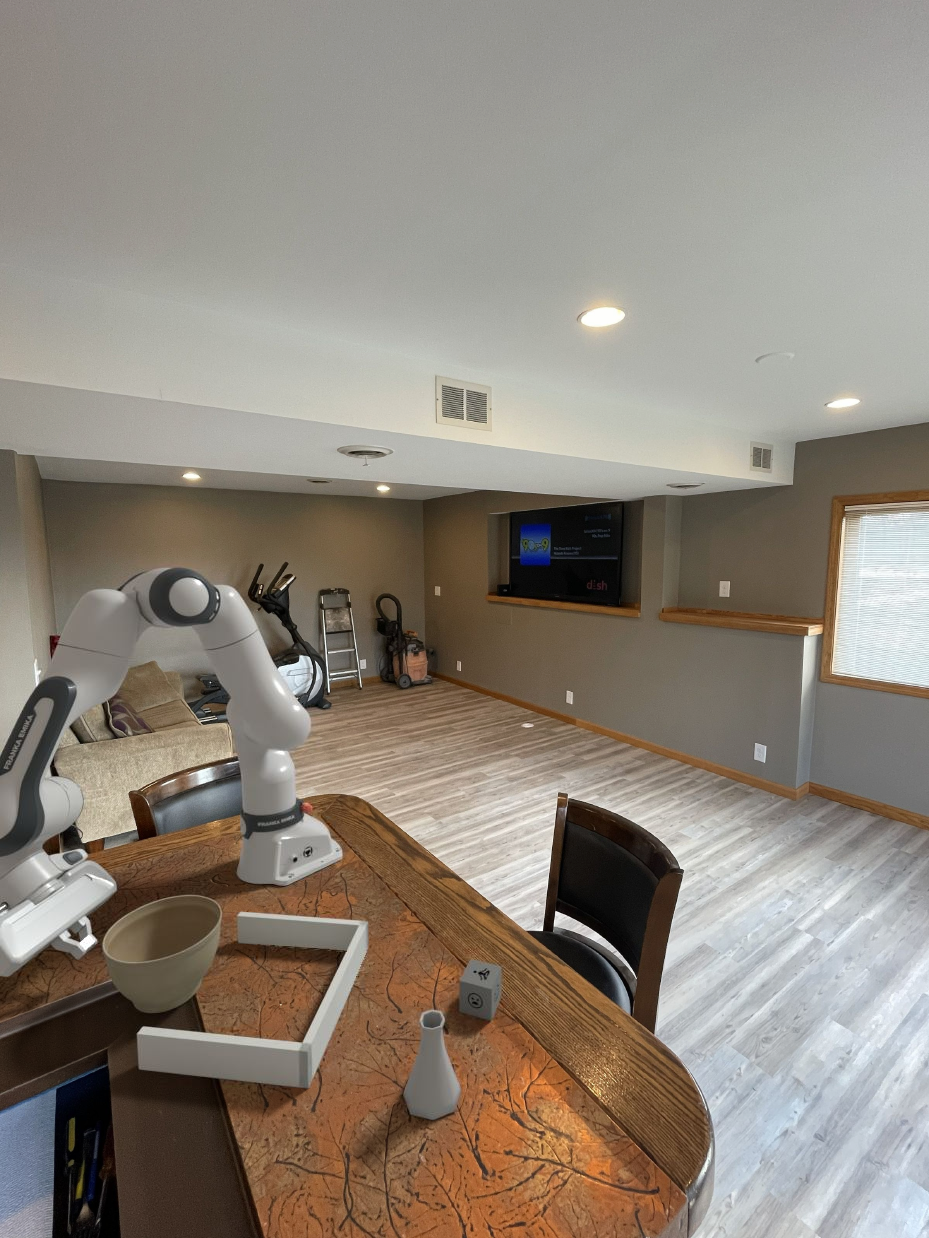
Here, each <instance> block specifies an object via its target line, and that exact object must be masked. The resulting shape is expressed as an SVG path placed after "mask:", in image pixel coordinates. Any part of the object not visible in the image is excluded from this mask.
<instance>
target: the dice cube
mask: <svg viewBox="0 0 929 1238" xmlns="http://www.w3.org/2000/svg"><path fill="white" fill-rule="evenodd" d="M502 974H503V973H502V966H501V965H497V964H493V963H489V962H485V961H481V960H477V959H474V958H471V959H470V960H469V961H468V963H467V965H466V966H465V969H464V971H463V973H462V975H461V977H460V979H459V982H458V983H459V986H458V987H459V993H458V995H459V997H458V999H459V1001H458V1002H459V1004H458V1005H459V1006H458V1007H459V1009H458V1010H459V1012H460V1013H462V1014H465V1015H469V1016H473V1017H475V1018H476V1017H477V1018H480V1019H484V1020H486V1021H489V1022H490V1021H491V1022H492V1021H493V1018H494V1016H495V1014H496V1011H497V1009H498V1006H499V1004H500V1001H501V998H502Z"/></svg>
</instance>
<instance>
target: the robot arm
mask: <svg viewBox="0 0 929 1238" xmlns="http://www.w3.org/2000/svg"><path fill="white" fill-rule="evenodd" d="M151 627H154V628H164V629H165V628H166V629H167V628H168V629H170V628H174V627H177V628H178V627H179V628H183V627H184V628H185V627H187V628H188V627H191V628H192V630H194V632H195V633H196V635H197V636H198V638H199V641H200V643H201V646H202V648H203V650H204V652H205V653H206V656H207V658H208V660H209V662H210V665H211V667H212V670H213V671H214V674H215V676H216V677H217V679H218V682H219V684H220V685H221V687H223V689H224V690H225V691H226V692H227V694H228V695H229V696H230V699H229V701H228V702H227V705H226V709H225V716H226V719H227V721H228V724H229V726H230V729H231V732H232V738H233V742H234V748H235V752H236V755H237V759H238V763H239V764H238V765H239V770H240V776H241V777H240V778H241V779H240V780H241V796H242V797H241V799H242V800H241V801H242V805H241V808H240V816H239V821H240V822H239V823H240V824H239V825H240V832H241V836H242V839H241V850H240V855H239V861H238V865H237V868H236V875H237V877H238V879H240V880H241V881H243V882H246V883H249V884H254V885H265V884H267V885H268V884H269V885H270V884H271V885H272V884H273V885H277V886H281V887H282V886H284V887H285V886H288V885H291V884H294V883H295V882H296V881H299V880H302V879H304V878H305V877H307V876H310V875H311V874H314V873H315V872H317V871H320V870H322V869H325V868H327V867H328V866H330V865H333V864H335V863H337V862H339V861H341V860H342V859H343V849H342V847H341V846H340V844H339V843H338V842H337V841H336V840H335V839H333V838H332V837H331V833H330V830H329V828H328V827H327V825H325V824H324V823H323V822H322V821H321V820H319V819H317V818H316V817H314V816H311V815H310V814H311V813H312V811H313V806H312V805H311V803H309V802H305V801H304V800H303V799H301V798H299V797H297V791H296V788H297V786H296V785H297V784H296V783H297V782H296V767H295V763H294V762H293V760H292V758H291V755H290V753H289V752H290V751H292V750H295V749H297V748H299V747H301V746H302V745H304V742H305V741H306V740H307V738H308V737H309V735H310V732H311V729H312V720H311V716H310V714H309V712H308V711H307V710H306V709H305V707H304V706H303V705H302V704H301V703H300V702H299V700H298V699H297V697H296V696H295V694H294V692H293V690H292V689H291V687H290V685H289V684H288V683H287V681H286V680H285V678H284V677H283V675H282V674H281V672H280V671H279V669H278V667H277V666H276V664H275V662H274V661H273V659H272V656H271V655H270V652H269V649H268V648H267V645H266V644H265V641H264V638H263V636H262V634H261V632H260V631H261V630H260V629H259V627H258V624H257V622H256V620H255V618H254V616H253V614H252V612H251V610H250V609H249V606H248V605H247V604H246V602H245V600H244V599H243V598H242V595H240V593H239V591H237V590H236V589H235V588H234V587H232V586H230V585H227V584H212V583H211V582H209V580H208V579H207V578H206V577H205V576H203V575H202V574H200V573H198V571H195V570H192V569H190V568H186V567H178V566H177V567H159V568H154V569H152V570H150V571H148V570H147V571H144V572H143V571H142V572H139V573H137V574H136V575H133V576H131V577H130V578H129V579H127V581H126V582H124V584H122V585H121V586H120V587H119V588H117V589H113V588H112V589H111V588H96V589H92V590H90V591H87V592H86V593H84V594H83V595H82V596H81V598H80V599H79V600H78V602H77V604H76V605H75V606H74V608H73V610H72V612H71V613H70V615H69V617H68V619H67V621H66V623H65V625H64V628H63V629H62V631H61V634H60V637H59V639H58V641H57V645H56V647H55V650H54V651H53V652H54V653H53V655H52V657H51V659H50V662H49V665H47V668H46V670H45V672H44V674H43V676H42V677H41V680H40V681H39V683H38V684H37V685H36V687H34V690H32V692H31V694H30V696H28V699H27V700H26V702H25V704H24V706H23V708H22V710H21V712H20V713H19V716H18V718H17V719H16V722H15V724H14V726H13V728H12V730H11V733H10V735H9V737H8V739H7V741H6V743H5V745H4V747H3V749H2V751H1V753H0V977H5V978H6V977H7V978H8V977H10V976H11V975H13V974H14V973H15V972H17V971H18V970H19V969H21V968H22V967H23V966H25V965H26V964H27V963H29V962H30V961H31V960H32V959H34V958H35V957H36V956H37V955H39V954H40V953H41V952H42V951H44V950H45V949H46V948H48V947H49V946H50V945H51V947H53V949H54V950H57V951H61V952H65V953H70V954H71V956H73V957H74V958H75V960H80V959H81V958H83V956H84V955H85V954H87V953H88V952H89V951H90V950H92V949H93V948H94V947H96V945H97V944H98V942H99V941H98V939H97V938H96V937H95V936H94V935H93V934H92V926H91V925H92V924H91V921H90V920H89V918H88V917H87V916H89V915H90V914H92V913H93V912H95V911H96V910H97V909H98V908H100V907H101V906H102V905H103V904H105V903H106V902H107V901H108V900H109V899H110V898H111V897H112V896H113V895H114V894H115V893H116V892H117V891H118V887H117V882H116V881H115V879H114V878H113V876H112V875H110V873H108V872H107V870H106V869H104V868H103V867H102V866H101V865H100V864H98V863H97V862H96V861H93V860H87V858H88V857H89V856H88V855H89V854H88V853H87V852H86V851H85V850H84V849H83V848H76V849H73V850H69V851H64V852H60V853H54V854H50V855H49V854H48V853H47V852H46V851H45V850H44V849H43V845H44V844H45V843H46V842H47V841H48V840H50V839H52V838H54V837H56V836H57V835H58V834H61V833H63V832H64V831H66V830H68V829H69V827H71V826H72V825H73V824H74V823H75V822H77V821H78V819H79V817H80V816H81V814H82V812H83V809H84V803H85V802H84V801H85V800H84V795H83V794H84V793H83V791H82V789H81V788H80V786H79V785H78V783H76V782H75V781H74V780H72V779H71V778H68V777H65V776H59V775H57V776H56V775H55V776H46V775H47V772H48V771H49V768H50V766H51V764H52V761H53V760H54V756H55V755H56V752H57V750H58V748H59V745H60V743H61V741H62V738H63V737H64V735H65V733H66V731H67V730H68V729H69V727H70V726H71V725H72V724H73V723H74V722H75V721H76V720H77V719H78V718H80V717H81V716H82V715H84V714H85V713H87V712H89V711H90V710H92V709H94V708H96V707H97V706H99V705H102V704H104V703H105V702H107V701H109V700H110V699H111V698H113V697H114V696H115V695H116V694H117V692H118V691H119V689H120V688H121V686H122V684H123V683H124V680H126V676H127V675H128V671H129V669H130V665H131V662H132V659H133V655H134V652H135V648H136V644H137V643H138V642H139V639H140V638H141V636H142V634H143V633H144V632H145V631H146V630H147V629H149V628H151ZM69 931H72V932H73V934H77V933H78V935H79V940H80V941H77V940H75V939H72V938H70V937H71V936H72V935H71V933H70V932H69Z"/></svg>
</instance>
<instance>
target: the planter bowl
mask: <svg viewBox="0 0 929 1238" xmlns="http://www.w3.org/2000/svg"><path fill="white" fill-rule="evenodd" d="M222 917H223V910H222V908H221V905H220V904H219V903H218V901H216V900H214V899H212V898H210V897H206V896H202V895H196V894H184V895H176V896H169V897H165V898H162V899H158V900H155V901H151V902H149V903H147V904H144V905H142V906H139V907H138V908H136V909H134V910H132V911H131V912H129V913H127V914H126V915H124V916H122V917H120V918H119V919H118V920H117V921H116V922H115V923H114V924H113V925H112V926H111V927H110V928H109V929H108V930H107V931H106V933H105V935H104V937H103V940H102V943H101V944H102V946H101V947H102V953H103V956H104V959H105V964H106V969H107V973H108V975H109V977H110V979H111V981H112V983H113V985H114V987H115V988H116V989H117V990H118V992H119V993H120V994H121V995H123V996H124V997H125V998H126V999H128V1000H130V1001H131V1002H132V1004H133V1006H134V1007H135V1009H136V1010H138V1011H139V1012H142V1013H145V1014H158V1013H164V1012H167V1011H170V1010H173V1009H175V1008H178V1007H179V1006H181V1005H183V1004H185V1003H186V1002H188V1001H189V1000H190V999H192V998H193V996H194V995H195V994H196V993H197V992H198V990H199V989H200V987H201V985H202V982H203V978H204V977H205V975H206V974H207V972H208V971H209V969H210V967H211V965H212V963H213V961H214V958H215V955H216V952H217V950H218V946H219V943H220V942H219V941H220V937H221V923H222V919H223V918H222Z"/></svg>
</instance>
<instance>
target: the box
mask: <svg viewBox="0 0 929 1238" xmlns="http://www.w3.org/2000/svg"><path fill="white" fill-rule="evenodd" d="M236 918H237V919H236V921H237V922H236V923H237V924H236V925H237V943H238V944H246V945H247V944H249V945H258V944H260V945H261V946H270V945H275V946H274V947H282V946H294V947H295V946H297V947H298V946H299V947H310V948H311V947H312V948H329V949H338V950H347V952H345V954H344V956H343V958H342V960H341V962H340V964H339V966H338V969H337V970H336V972H335V974H334V977H333V979H332V980H331V982H330V985H329V987H328V989H327V991H326V993H325V995H324V998H323V999H322V1001H321V1004H320V1006H319V1008H318V1010H317V1012H316V1014H315V1016H314V1018H313V1020H312V1023H311V1024H310V1026H309V1028H308V1031H307V1032H306V1034H305V1036H304V1039H303V1040H302V1042H298V1041H288V1040H280V1039H268V1038H259V1037H250V1036H240V1035H230V1034H219V1033H209V1032H201V1031H191V1030H181V1029H173V1028H172V1029H171V1028H164V1027H163V1028H161V1027H152V1026H142V1027H141V1028H140V1030H139V1031H138V1032H137V1033H136V1042H137V1060H138V1061H137V1062H138V1070H143V1071H150V1072H151V1071H152V1072H158V1073H166V1074H167V1073H169V1074H176V1075H177V1074H178V1075H185V1076H195V1077H202V1078H203V1077H205V1078H213V1079H221V1080H222V1079H223V1080H229V1081H231V1080H232V1081H239V1082H240V1081H241V1082H247V1083H257V1084H265V1085H274V1086H275V1085H276V1086H283V1087H293V1088H302V1089H310V1086H311V1084H312V1082H313V1079H314V1077H315V1075H316V1073H317V1070H318V1068H319V1065H320V1063H321V1061H322V1058H323V1056H324V1053H325V1051H326V1049H327V1047H328V1045H329V1042H330V1040H331V1038H332V1035H333V1032H334V1030H335V1028H336V1026H337V1023H338V1021H339V1019H340V1016H341V1014H342V1012H343V1009H344V1007H345V1005H346V1003H347V1001H348V997H349V995H350V993H351V990H352V989H351V988H353V986H354V983H355V982H354V981H356V979H357V977H358V975H359V972H360V970H359V969H361V968H360V967H362V965H363V963H364V961H363V960H365V958H366V956H365V955H367V954H366V953H368V951H369V949H370V948H369V921H367V920H356V919H355V920H354V919H343V918H331V917H330V918H329V917H317V916H316V917H315V916H301V915H287V914H277V913H263V912H262V913H261V912H249V911H248V912H247V911H239V913H238V914H237V915H236ZM277 945H278V946H277ZM294 947H293V948H294ZM368 948H369V949H368ZM367 950H368V951H367ZM364 957H365V958H364ZM362 962H363V963H362ZM361 964H362V965H361ZM357 974H358V975H357ZM356 976H357V977H356Z"/></svg>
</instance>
